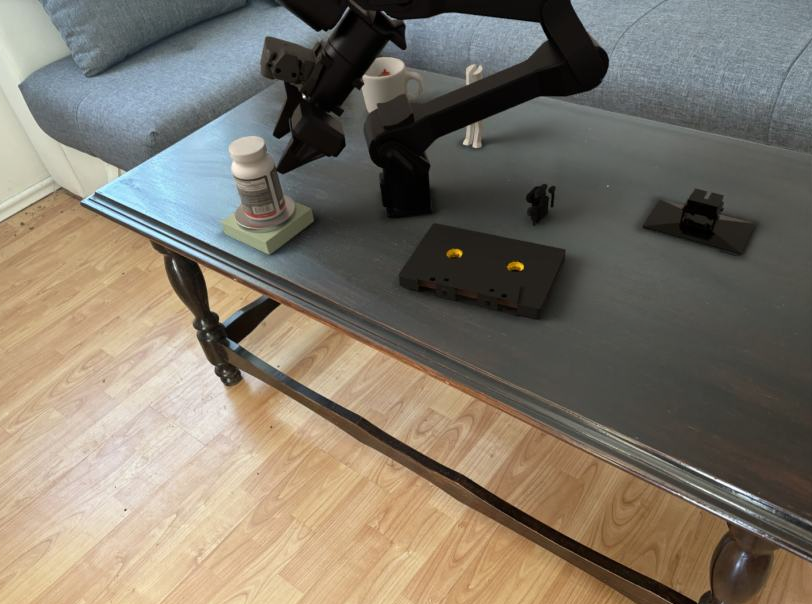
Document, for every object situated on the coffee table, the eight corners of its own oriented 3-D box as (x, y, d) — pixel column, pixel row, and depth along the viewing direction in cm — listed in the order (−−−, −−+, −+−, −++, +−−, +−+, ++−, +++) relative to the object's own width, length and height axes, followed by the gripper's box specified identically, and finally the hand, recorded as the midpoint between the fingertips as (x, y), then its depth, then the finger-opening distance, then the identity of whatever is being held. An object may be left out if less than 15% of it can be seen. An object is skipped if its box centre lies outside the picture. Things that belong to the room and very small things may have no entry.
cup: (427, 100, 116) (424, 55, 110) (423, 123, 110) (420, 76, 105) (367, 102, 117) (361, 57, 111) (360, 124, 112) (354, 78, 106)
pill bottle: (264, 194, 94) (246, 129, 86) (294, 204, 91) (278, 139, 84) (236, 215, 90) (215, 150, 83) (266, 226, 88) (247, 160, 81)
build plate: (754, 226, 85) (765, 195, 82) (739, 257, 81) (750, 227, 78) (659, 200, 90) (666, 171, 87) (640, 229, 86) (647, 199, 83)
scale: (271, 202, 97) (266, 184, 95) (315, 220, 93) (311, 202, 91) (225, 234, 93) (218, 216, 90) (269, 255, 88) (264, 237, 86)
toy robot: (496, 133, 106) (498, 59, 98) (473, 156, 102) (473, 80, 93) (475, 128, 108) (475, 55, 99) (451, 150, 104) (449, 75, 95)
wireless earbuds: (530, 234, 87) (533, 202, 84) (514, 228, 88) (516, 196, 85) (556, 208, 91) (559, 176, 87) (540, 202, 92) (543, 171, 88)
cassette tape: (398, 287, 82) (397, 274, 80) (434, 234, 89) (433, 221, 87) (539, 321, 76) (540, 307, 74) (565, 261, 83) (566, 247, 81)
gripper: (285, -15, 80) (221, 88, 87) (296, 43, 67) (220, 158, 74) (357, 40, 86) (292, 132, 93) (380, 104, 73) (302, 204, 81)
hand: (277, 153), depth 85 cm, fingers open, 9 cm apart
